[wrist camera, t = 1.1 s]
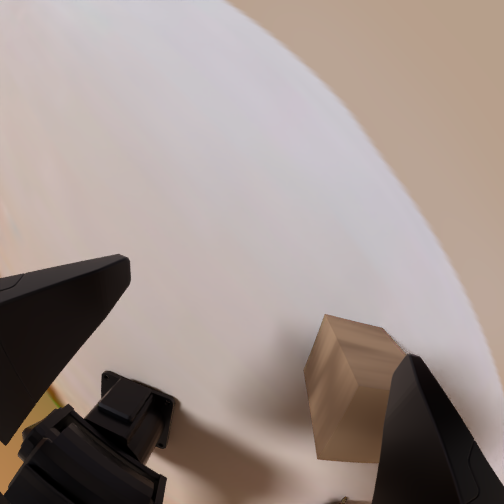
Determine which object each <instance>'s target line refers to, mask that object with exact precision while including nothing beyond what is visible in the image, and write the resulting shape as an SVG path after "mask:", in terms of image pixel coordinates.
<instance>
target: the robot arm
mask: <svg viewBox="0 0 504 504" xmlns="http://www.w3.org/2000/svg"><path fill="white" fill-rule="evenodd" d="M130 281H131V272H130V260H129V258H127V257H125V256H123V255H120V254H116V255H111V256H106V257H101V258H95V259H90V260H86V261H81V262H76V263H71V264H66V265H61V266H56V267H51V268H47V269H42V270H37V271H33V272H28V273H25V274H24V273H23V274H19V275H14V276H9V277H4V278H0V441H1V442H2V443H3V444H4V445H5V446H6V445H7V444H8V443H9V441H10V440H11V438H12V437H13V435H14V434H15V433H16V431H17V430H18V428H19V427H20V425H21V424H22V423H23V421H24V420H25V419H26V417H27V416H28V414H29V413H30V412H31V410H32V409H33V408H34V406H35V405H36V404H35V403H37V402H38V401H39V399H40V398H41V397H42V395H43V394H44V393H45V391H46V390H47V389H48V388H49V386H50V385H51V384H52V382H53V381H54V380H55V379H56V377H57V376H58V375H59V373H60V372H61V371H62V370H63V368H64V367H65V366H66V365H67V364H68V362H69V361H70V360H71V359H72V357H73V356H74V355H75V354H76V352H77V351H78V350H79V349H80V348H81V346H82V345H83V344H84V343H85V342H86V340H87V339H88V338H89V337H90V336H91V335H92V333H93V332H94V331H95V330H96V329H97V328H98V326H99V325H100V324H101V323H102V322H103V320H104V319H105V318H106V317H107V315H108V314H109V313H110V311H111V310H112V308H113V307H114V306H115V304H116V303H117V301H118V300H119V299H120V297H121V296H122V294H123V293H124V292H125V290H126V289H127V288H128V286H129V284H130ZM106 375H107V376H108V377H109V378H108V377H107V376H106ZM167 401H169V402H170V403H168V402H167ZM174 404H175V400H174V399H173V398H172V397H171V396H169V395H166V394H163V393H161V392H158V391H155V390H153V389H150V388H147V387H145V386H142V385H140V384H138V383H135V382H133V381H130V380H128V379H126V378H123V377H121V376H119V375H116V374H114V373H112V372H110V371H105V372H104V373H103V374H102V380H101V400H100V401H99V402H98V404H97V405H96V406H95V407H94V408H93V409H92V410H91V411H90V412H89V413H88V415H87V416H86V417H85V418H84V419H83V418H82V417H81V416H80V415H79V414H78V413H77V412H75V411H74V408H73V407H72V406H70V405H69V404H67V405H66V406H65V407H64V408H61V407H60V408H59V409H54V410H53V411H52V412H51V413H50V414H49V415H48V416H47V417H46V418H44V419H43V420H41V421H39V422H37V423H35V424H33V425H31V426H29V427H27V428H25V429H24V431H23V432H22V436H23V443H22V445H21V449H20V450H19V452H18V457H19V458H21V460H23V462H24V463H23V465H22V466H21V467H20V469H19V470H18V472H17V473H16V475H15V476H14V478H13V479H12V481H11V482H10V484H9V486H8V490H7V491H6V493H5V494H4V495H2V493H1V492H0V504H163V498H164V492H165V486H166V481H167V478H166V477H164V476H163V475H161V474H158V473H156V472H154V471H153V470H151V469H150V468H148V467H147V466H145V465H146V463H147V461H148V459H149V457H150V455H151V453H152V451H153V449H154V448H155V446H156V447H158V448H162V449H164V448H166V446H167V443H168V437H169V431H170V426H171V420H172V415H173V409H174ZM372 504H504V486H503V484H502V483H501V481H500V480H499V478H498V477H497V475H496V474H495V472H494V471H493V469H492V468H491V466H490V465H489V463H488V462H487V460H486V458H485V456H484V455H483V453H482V452H481V450H480V448H479V446H478V445H477V443H476V441H474V438H473V436H472V435H471V433H470V431H469V430H468V428H467V426H466V425H465V423H464V422H463V420H462V418H461V417H460V415H459V414H458V412H457V410H456V409H455V407H454V406H453V404H452V403H451V401H450V400H449V398H448V397H447V395H446V394H445V392H444V391H443V389H442V388H441V386H440V385H439V383H438V382H437V380H436V379H435V377H434V376H433V374H432V373H431V371H430V370H429V369H428V367H427V366H426V364H425V363H424V361H423V360H422V359H421V357H420V356H417V355H413V354H407V355H406V356H405V357H404V358H403V360H402V361H401V363H400V364H399V366H398V367H397V368H396V370H395V371H394V373H393V376H392V380H391V386H390V392H389V398H388V403H387V408H386V413H385V419H384V426H383V435H382V444H381V452H380V459H379V466H378V472H377V478H376V484H375V490H374V495H373V500H372Z"/></svg>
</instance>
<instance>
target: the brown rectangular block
mask: <svg viewBox="0 0 504 504" xmlns="http://www.w3.org/2000/svg"><path fill="white" fill-rule="evenodd" d="M405 356H406V354H405V353H404V352H403V351H402V349H401V348H400V347H399V346H398V345H397V344H396V343H395V342H394V340H393V339H392V338H391V337H390V336H389V335H388V334H387V332H386V331H385V330H384V329H383V328H380V327H376V326H372V325H368V324H363V323H359V322H355V321H351V320H347V319H343V318H339V317H335V316H331V315H327V314H325V315H324V318H323V321H322V323H321V326H320V329H319V332H318V334H317V337H316V340H315V342H314V345H313V348H312V350H311V353H310V355H309V358H308V360H307V363H306V365H305V368H304V376H305V382H306V388H307V394H308V400H309V407H310V413H311V419H312V426H313V433H314V439H315V446H316V453H317V459H320V460H330V461H342V462H358V463H379V459H380V452H381V444H382V435H383V426H384V419H385V413H386V408H387V403H388V398H389V392H390V386H391V380H392V376H393V373H394V371H395V370H396V368H397V367H398V366H399V364H400V363H401V361H402V360H403V358H404V357H405Z"/></svg>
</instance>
